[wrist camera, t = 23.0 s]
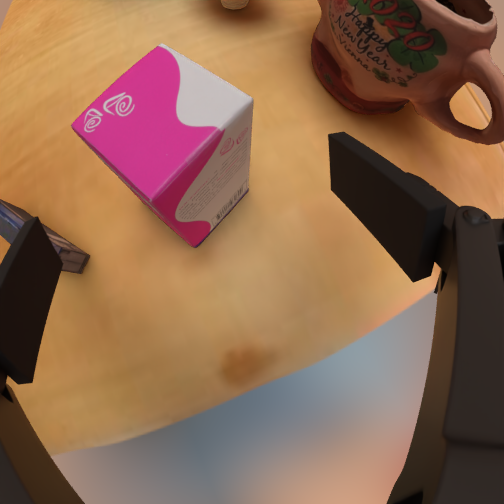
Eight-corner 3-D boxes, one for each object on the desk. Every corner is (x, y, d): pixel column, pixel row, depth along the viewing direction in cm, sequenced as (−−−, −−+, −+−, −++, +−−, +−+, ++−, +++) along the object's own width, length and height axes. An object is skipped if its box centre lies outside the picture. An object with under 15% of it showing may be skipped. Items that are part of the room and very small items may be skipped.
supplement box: (190, 142, 23) (163, 37, 12) (250, 190, 23) (264, 100, 12) (136, 198, 22) (65, 123, 11) (194, 251, 22) (155, 208, 11)
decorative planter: (474, 150, 25) (570, 86, 11) (398, 211, 23) (526, 140, 10) (348, 8, 26) (386, -87, 13) (255, 36, 25) (268, -89, 11)
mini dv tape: (90, 255, 22) (49, 243, 16) (81, 274, 22) (38, 266, 16) (23, 209, 22) (-21, 189, 16) (15, 225, 22) (-30, 208, 16)
